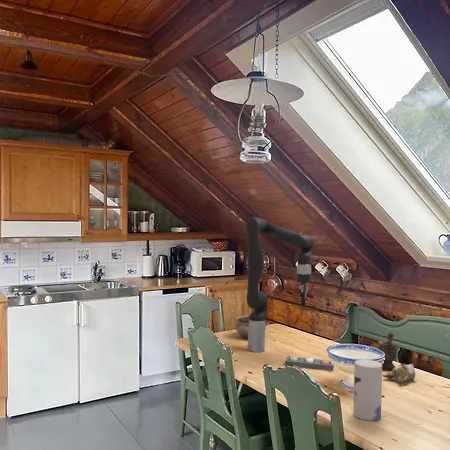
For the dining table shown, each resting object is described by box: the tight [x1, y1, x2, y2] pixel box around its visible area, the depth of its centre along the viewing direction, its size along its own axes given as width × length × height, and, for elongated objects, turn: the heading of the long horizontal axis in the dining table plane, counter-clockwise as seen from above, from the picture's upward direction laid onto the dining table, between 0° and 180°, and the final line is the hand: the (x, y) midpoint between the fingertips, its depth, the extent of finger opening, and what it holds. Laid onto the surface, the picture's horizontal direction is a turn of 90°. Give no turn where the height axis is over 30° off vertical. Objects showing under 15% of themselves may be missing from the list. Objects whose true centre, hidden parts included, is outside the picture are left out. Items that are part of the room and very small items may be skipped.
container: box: [353, 359, 383, 422], centre depth 179 cm, size 10×10×20 cm
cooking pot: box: [231, 315, 270, 340], centre depth 296 cm, size 25×19×12 cm
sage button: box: [290, 355, 299, 361], centre depth 243 cm, size 4×4×3 cm
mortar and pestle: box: [378, 331, 398, 371], centre depth 237 cm, size 12×9×20 cm
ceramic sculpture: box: [382, 362, 416, 384], centre depth 220 cm, size 11×9×15 cm
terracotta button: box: [321, 359, 330, 364], centre depth 238 cm, size 4×4×3 cm
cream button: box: [305, 357, 315, 363], centre depth 241 cm, size 4×4×3 cm
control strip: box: [284, 355, 335, 372], centre depth 241 cm, size 24×9×2 cm, turn 74°
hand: (303, 305), depth 251 cm, fingers closed
